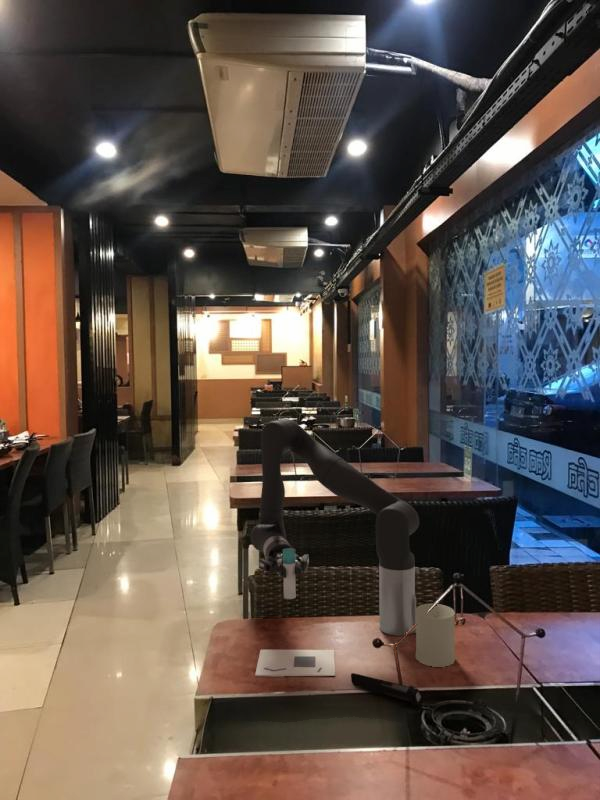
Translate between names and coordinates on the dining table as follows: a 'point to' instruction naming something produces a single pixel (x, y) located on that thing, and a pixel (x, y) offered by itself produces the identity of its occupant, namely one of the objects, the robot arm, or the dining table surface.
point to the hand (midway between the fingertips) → (291, 573)
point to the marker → (289, 573)
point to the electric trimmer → (387, 688)
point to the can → (435, 635)
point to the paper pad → (296, 663)
